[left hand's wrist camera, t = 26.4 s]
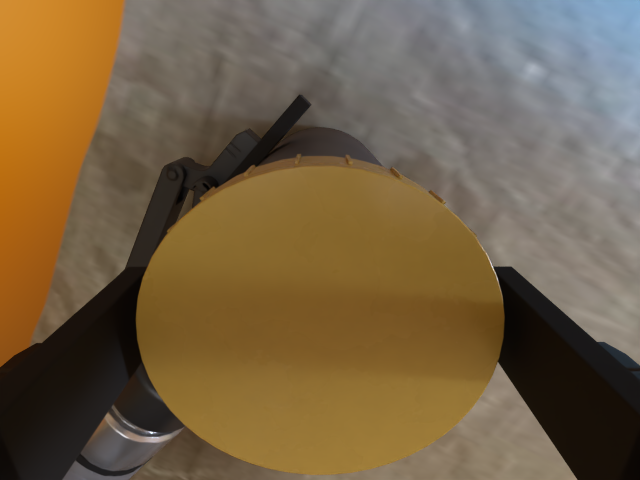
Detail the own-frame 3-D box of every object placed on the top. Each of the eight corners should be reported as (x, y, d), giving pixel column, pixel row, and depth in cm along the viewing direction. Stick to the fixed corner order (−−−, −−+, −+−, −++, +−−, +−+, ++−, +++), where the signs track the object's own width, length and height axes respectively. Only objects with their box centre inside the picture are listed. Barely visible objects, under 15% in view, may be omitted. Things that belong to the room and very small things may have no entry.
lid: (553, 275, 12) (590, 303, 10) (357, 472, 15) (362, 516, 13) (261, 72, 10) (250, 67, 8) (107, 354, 13) (78, 390, 11)
